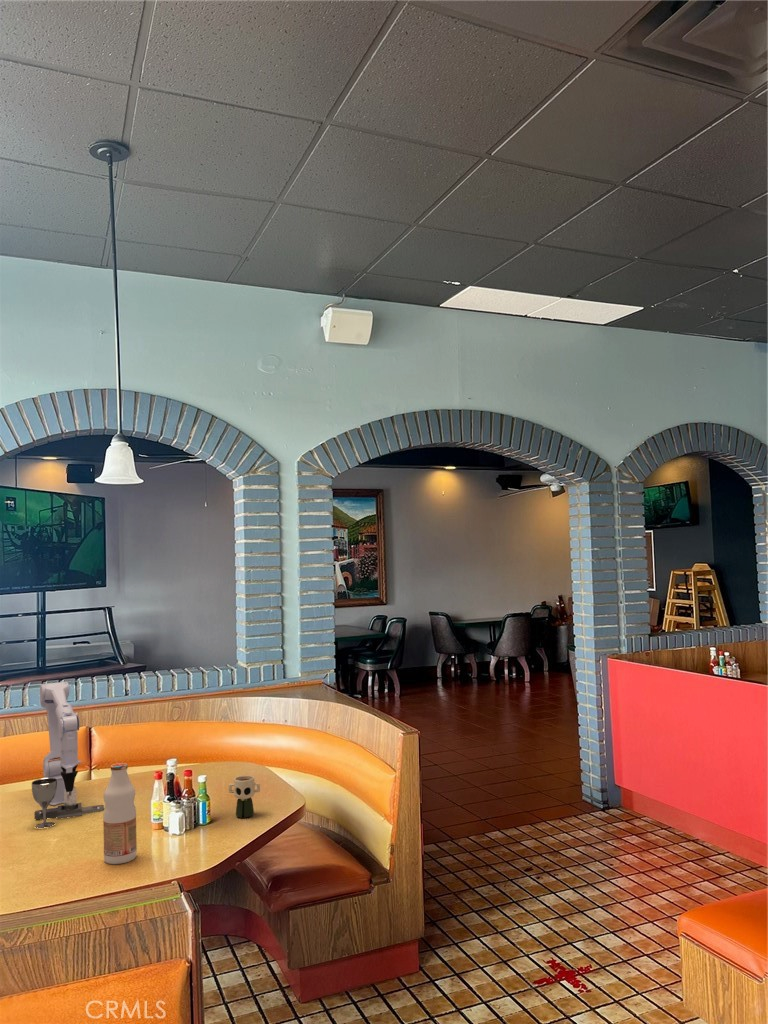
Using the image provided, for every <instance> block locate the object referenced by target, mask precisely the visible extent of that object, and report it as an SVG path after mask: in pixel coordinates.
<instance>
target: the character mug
mask: <svg viewBox="0 0 768 1024" xmlns="http://www.w3.org/2000/svg"><path fill="white" fill-rule="evenodd" d="M255 787H256V789H255ZM232 788H233V790H232ZM260 792H261V783H260V782H256V781H255V776H254V775H250V774H249V775H248V774H246V775H243V774H241V775H238V776H234V778H233V783H231V782H230V783H229V784H228V793H229V794H234V798H236V799H237V800H236V806H235V808H236V809H235V816H236V817H237V818H243V816H244V818H249V817H252V816H253V815H254V814H255V812H254V811H255V809H254V803H253V799H252V798H253V797H254V796H255V794H256V793H260Z"/></svg>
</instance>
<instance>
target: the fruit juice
mask: <svg viewBox="0 0 768 1024" xmlns="http://www.w3.org/2000/svg"><path fill="white" fill-rule="evenodd" d="M128 769H129V766H128V763H127V762H117V763H112V764H111V765H110V772H111V774H110V777H109V781H108V784H107V786H106V789H105V790H104V791H103V801H104V804H105V806H104V810H103V815H102V816H103V817H102V818H103V822H102V823H103V860H104V862H105V863H106V864H109V865H119V864H126V863H128V862H131V861H133V860H134V859H135V858H136V857H137V848H138V846H137V809H136V805H135V797H136V789H135V786H134V785H133V783H132V781H131V779H130V777H129V774H128Z"/></svg>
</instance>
